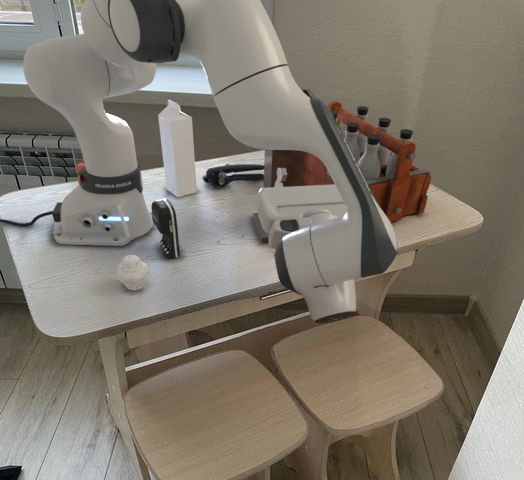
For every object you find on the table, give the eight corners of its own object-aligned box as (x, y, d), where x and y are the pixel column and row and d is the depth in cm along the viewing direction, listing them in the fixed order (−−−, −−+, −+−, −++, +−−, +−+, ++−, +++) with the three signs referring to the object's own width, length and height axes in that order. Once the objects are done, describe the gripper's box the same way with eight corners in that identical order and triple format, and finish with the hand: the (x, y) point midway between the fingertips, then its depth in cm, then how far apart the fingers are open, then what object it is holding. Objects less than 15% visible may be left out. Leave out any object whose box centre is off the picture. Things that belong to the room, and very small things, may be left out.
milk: (177, 197, 129) (168, 107, 114) (166, 189, 132) (155, 100, 117) (197, 191, 131) (191, 103, 116) (185, 183, 135) (178, 96, 120)
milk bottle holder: (360, 234, 117) (375, 153, 104) (290, 176, 140) (295, 103, 127) (430, 217, 124) (452, 139, 111) (352, 165, 147) (363, 94, 134)
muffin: (118, 296, 97) (112, 266, 92) (120, 278, 102) (114, 248, 97) (151, 293, 98) (146, 263, 93) (150, 276, 102) (146, 246, 98)
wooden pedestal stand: (261, 243, 113) (265, 108, 93) (252, 218, 122) (254, 90, 102) (310, 240, 115) (324, 107, 95) (298, 215, 123) (309, 88, 104)
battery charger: (154, 245, 111) (148, 198, 103) (171, 242, 112) (165, 194, 105) (164, 261, 107) (157, 212, 99) (181, 257, 108) (176, 209, 100)
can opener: (209, 193, 131) (208, 172, 127) (201, 182, 136) (199, 162, 132) (270, 183, 137) (271, 162, 133) (260, 173, 141) (260, 153, 137)
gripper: (381, 222, 86) (365, 154, 89) (265, 229, 83) (254, 159, 86) (369, 240, 92) (355, 176, 95) (260, 248, 89) (250, 181, 92)
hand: (306, 168), depth 91 cm, fingers open, 8 cm apart
